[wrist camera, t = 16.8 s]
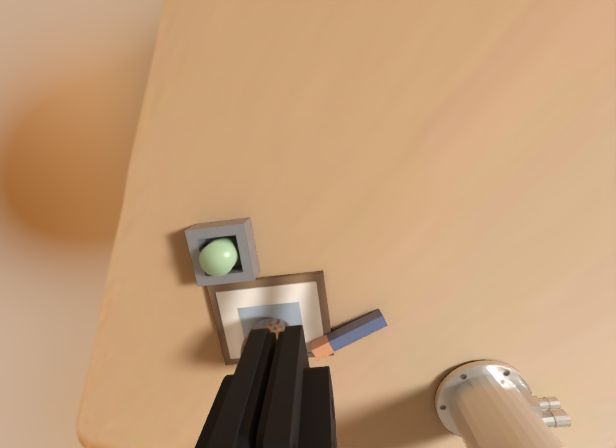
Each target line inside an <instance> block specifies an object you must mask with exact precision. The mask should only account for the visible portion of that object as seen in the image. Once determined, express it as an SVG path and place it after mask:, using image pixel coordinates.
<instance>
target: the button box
mask: <svg viewBox="0 0 616 448" xmlns="http://www.w3.org/2000/svg"><path fill="white" fill-rule="evenodd" d="M184 232H185V236H186V240H187V244H188V248H189V252H190V256H191V260H192V264H193V268H194V272H195V277H196V281H197V285H198V287H199V286H208V285H218V284H227V283H236V282H245V281H254V280H256V277H257V275H258V273H259V271H260V268H259V262H258V257H257V252H256V246H255V241H254V236H253V230H252V225H251V220H250V218H242V219H234V220H225V221H217V222H209V223H201V224H195V225H193V226H191V227H190V228H188V229H187V230H185V231H184ZM223 236H232V237H234V238H235V239H237V243H238V248H239V253H240V258H239V259H238V260H237V262H236V263H235V265H234V266H233V267H232V269H231V270H230V271H229V272H228V273H227V274H226V275H224V276H220V277H216V276H211V275H209V274H207V273H206V272H205V271H204V270H203V269H202V267H201V266H200V263H199V256H200V253H201V251H202V250H203V249H204V248H205V247H206V246H207V245H208V244H210V243H211V242H212V241H213V240H214V239H215V238H216V237H223Z"/></svg>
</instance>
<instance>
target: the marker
mask: <svg viewBox="0 0 616 448" xmlns="http://www.w3.org/2000/svg"><path fill="white" fill-rule="evenodd" d="M385 326H387V323H386V321H385V319H384V317H383V315H382V314H381V312H380V310H379V309H378V310H376V311H374V312H372V313H370V314H368V315H365V316H363V317H361V318H359V319H357V320H355V321H353V322H351V323H349V324H347V325H345V326H343V327H341V328H339V329H337V330H335V331H333V332H331V333H329V334H326V335H324V336H322V337H320V338H318V339H316V340H314V341H312V342H310V344H311V351H312V353H313V354H314V356H315V358H316V359H317V361H318V360H320V359H322V358H324V357H326V356H328V355H330V354H332V353H334V351H336V350H338V349H341V348H343V347H345V346H347V345H349V344H351V343H353V342H355V341H357V340H359V339H361V338H363V337H365V336H367V335H369V334H371V333H373V332H375V331H377V330H379V329H381V328H383V327H385Z"/></svg>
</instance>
